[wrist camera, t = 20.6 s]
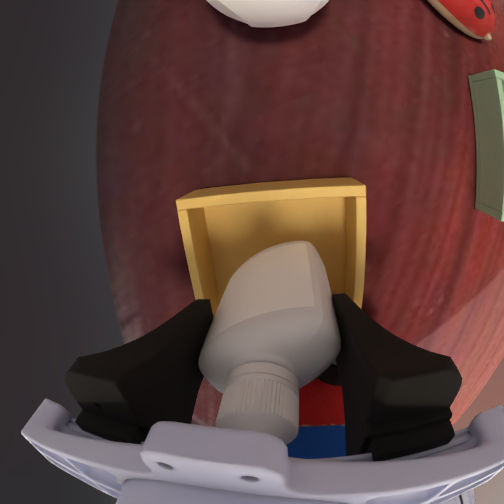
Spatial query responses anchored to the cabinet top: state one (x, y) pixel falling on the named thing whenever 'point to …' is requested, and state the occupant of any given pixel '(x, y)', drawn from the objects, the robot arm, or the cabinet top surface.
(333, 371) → the toy train
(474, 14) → the ladybug figurine
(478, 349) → the cabinet top surface
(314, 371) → the eye dropper bottle
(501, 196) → the sage bin
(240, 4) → the white lumpy ball
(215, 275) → the ochre bin
